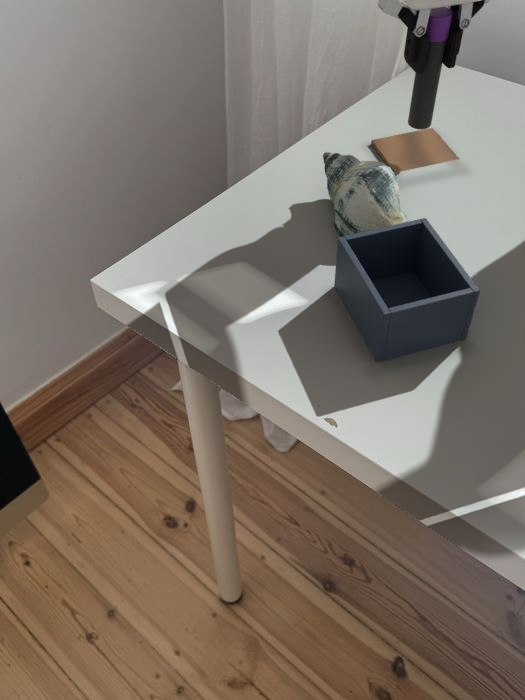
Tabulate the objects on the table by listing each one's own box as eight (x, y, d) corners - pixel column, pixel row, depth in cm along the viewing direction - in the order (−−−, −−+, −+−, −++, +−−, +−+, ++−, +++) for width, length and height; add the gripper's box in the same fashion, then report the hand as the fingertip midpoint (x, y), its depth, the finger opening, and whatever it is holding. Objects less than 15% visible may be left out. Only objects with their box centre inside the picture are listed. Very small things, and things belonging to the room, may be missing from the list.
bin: (415, 270, 72) (425, 217, 67) (465, 343, 66) (480, 290, 61) (333, 290, 71) (337, 237, 66) (376, 367, 64) (384, 314, 59)
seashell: (348, 269, 75) (333, 196, 82) (418, 242, 73) (396, 169, 80) (325, 227, 70) (311, 154, 78) (399, 196, 68) (377, 124, 76)
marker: (425, 114, 83) (444, 3, 74) (436, 127, 81) (457, 15, 72) (402, 119, 83) (419, 7, 73) (413, 132, 81) (432, 19, 71)
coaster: (431, 131, 88) (432, 127, 88) (463, 167, 83) (464, 164, 83) (370, 143, 87) (371, 139, 86) (399, 181, 82) (399, 177, 81)
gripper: (395, -114, 59) (372, 95, 73) (570, -136, 62) (516, 69, 76) (359, -141, 64) (344, 60, 78) (523, -160, 67) (481, 37, 81)
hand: (429, 63), depth 77 cm, fingers closed on marker, 2 cm apart
